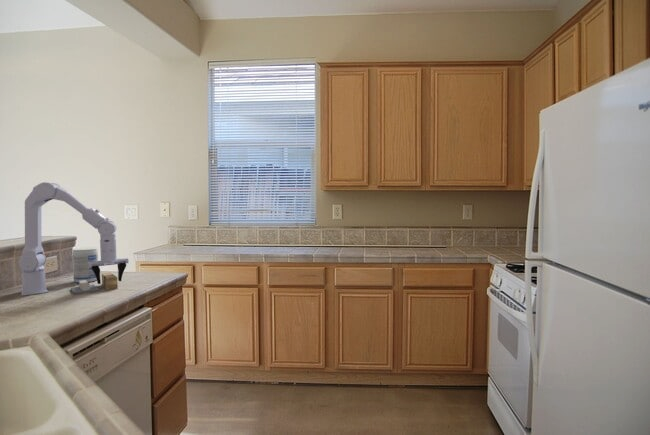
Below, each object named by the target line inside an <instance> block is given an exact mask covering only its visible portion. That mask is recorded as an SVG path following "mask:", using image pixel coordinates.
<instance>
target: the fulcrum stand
mask: <svg viewBox="0 0 650 435" xmlns="http://www.w3.org/2000/svg"><path fill="white" fill-rule="evenodd" d="M78 285H79V286H71V287H70V291H71V292H72V293H73V295H79V294H86V293H87V294H88V293H93V292H94V293H95V292H98V291H99V288H98V286H96V285H95V284H90V282H87V281H86V280H83V281H79V283H78Z"/></svg>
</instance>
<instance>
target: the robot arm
mask: <svg viewBox="0 0 650 435" xmlns="http://www.w3.org/2000/svg"><path fill="white" fill-rule="evenodd" d="M52 200H56V201H61V202H65V204H67V205H69V206H70V207H72V209H74V210H76V211H77V212H79V213H80V214H81V215H82V217H81V218H82V219H83V220H84V221H85V222H86V223H88V224H89V225H91V226H92V227H93V228H94V229H97V233H98V234H99V235H100V239H99V243H100V245H99V246H100V248H99V249H100V251H99V252H100V260H98V261H95V262H88V267H89V268H92V270H93V272H94V274H95V276H96V278H97V280H96V281H97V284H98V285H102V280H101V268H100V267H104V266H113V265H117V272H118V273H117V282H122V278H123V275H124V271H125V269H126V268H127V264H129V258H128V257H127V258H117V239H116V233H115V232H116V231H117V225H116V223H115V222H114V221H112V220H110V219H109V217H105V216H104V215H103V214H101V213H100V210H99V209H97V208H96V209H95V208H93V207H92V208H88V207H87V206H86V205H85V204H84V203H83V202H81V201H80V200H79V199H78V198H77V197H76V196H74V195H73V194H72V193H71V192H70V191H68V190H67V188H66V189H65V188H64V187H61V186H60V185H59V184H58V183H54V182H40V183H39V184H36V185H35V186H34V187H33V189H32V190H31V192H30V193H29V194H28V196H27V197H26V199H25V200H24V247H23V249H22V251H21V257H20V259H19V260H18V266H19V268H20V269H21V281H22V282H21V284H22V285H21V287H22V289H21V290H20V292H21V296H23V297H24V296H31V295H38V294H45V293H48V292H49V290H48V289H47V287H46V286H47V285H46V270H45V269H46V267H45V266H44V265H45V264H46V263H47V257H46V255H45V253H44V250H45V249H44V248H43V245H42V206H44V205H45V204H46V203H48V202H50V201H52Z"/></svg>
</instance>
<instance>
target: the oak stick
mask: <svg viewBox="0 0 650 435" xmlns="http://www.w3.org/2000/svg"><path fill="white" fill-rule="evenodd" d="M101 285H102V286H103V287H104V288H105V289H106V290H107V291H111V290H118V276H116V275H114V274H113V273H112V272H106V273H101Z"/></svg>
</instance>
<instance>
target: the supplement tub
mask: <svg viewBox="0 0 650 435" xmlns="http://www.w3.org/2000/svg"><path fill="white" fill-rule="evenodd" d="M95 261H99V252H98V247H93V246H91V247H89V246H87V247H78V248H77V247H76V248H74V249H72V267H73V269H72V270H73V282H74V283H77V284H79V281H83V280H86V281H87V282H88V283H92V282H96V281H97V278H96V276H95V274H94V272H93V270H92V268H89V267H88V262H95Z"/></svg>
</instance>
